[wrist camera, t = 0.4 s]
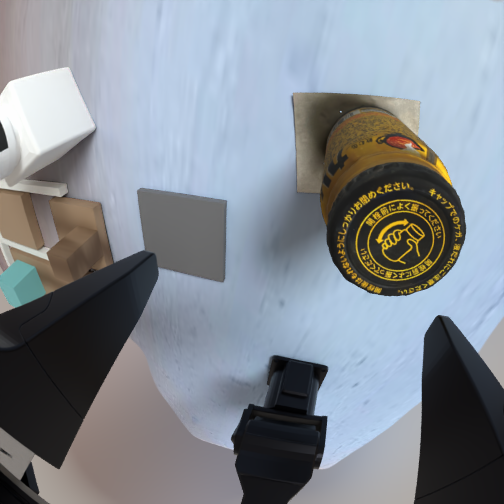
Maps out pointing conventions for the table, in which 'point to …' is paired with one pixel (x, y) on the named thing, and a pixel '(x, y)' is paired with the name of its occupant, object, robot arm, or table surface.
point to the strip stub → (78, 238)
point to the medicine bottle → (40, 122)
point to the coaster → (185, 232)
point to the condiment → (378, 191)
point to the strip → (41, 269)
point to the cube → (21, 284)
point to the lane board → (23, 216)
